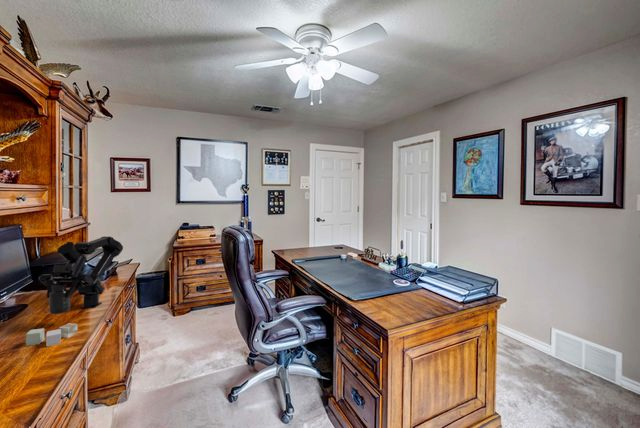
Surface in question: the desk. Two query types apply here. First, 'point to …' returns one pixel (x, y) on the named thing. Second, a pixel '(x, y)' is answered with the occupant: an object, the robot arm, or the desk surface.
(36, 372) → the desk surface
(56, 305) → the supplement bottle
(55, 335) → the grey plastic block
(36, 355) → the desk surface
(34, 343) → the sage block
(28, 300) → the desk surface
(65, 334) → the birch block
